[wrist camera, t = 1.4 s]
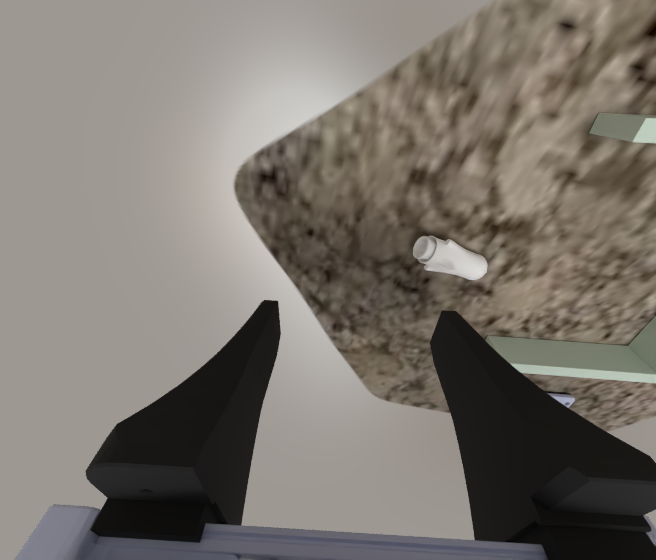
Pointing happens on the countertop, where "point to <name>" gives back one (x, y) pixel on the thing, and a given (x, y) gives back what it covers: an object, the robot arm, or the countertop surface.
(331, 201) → the countertop surface
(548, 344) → the light green u-shaped bracket
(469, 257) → the small white plastic part
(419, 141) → the countertop surface
